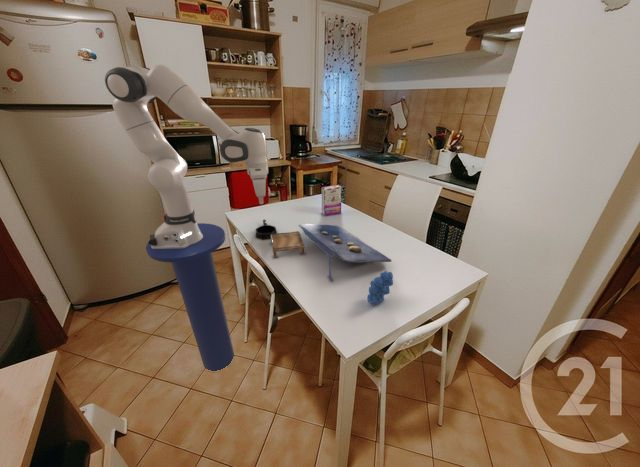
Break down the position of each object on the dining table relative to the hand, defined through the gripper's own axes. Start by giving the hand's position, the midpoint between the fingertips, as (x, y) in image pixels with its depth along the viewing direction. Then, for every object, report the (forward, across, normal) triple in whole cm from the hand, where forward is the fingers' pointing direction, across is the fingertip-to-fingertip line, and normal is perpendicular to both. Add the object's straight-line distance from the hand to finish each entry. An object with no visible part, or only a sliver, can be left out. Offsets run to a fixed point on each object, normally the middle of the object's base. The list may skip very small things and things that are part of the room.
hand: (260, 199), depth 118 cm
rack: (+21, +9, +10) cm, 25 cm away
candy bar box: (+22, -26, +41) cm, 53 cm away
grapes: (+22, +51, +35) cm, 66 cm away
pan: (+21, -11, +1) cm, 24 cm away
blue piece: (+22, +16, +32) cm, 42 cm away
